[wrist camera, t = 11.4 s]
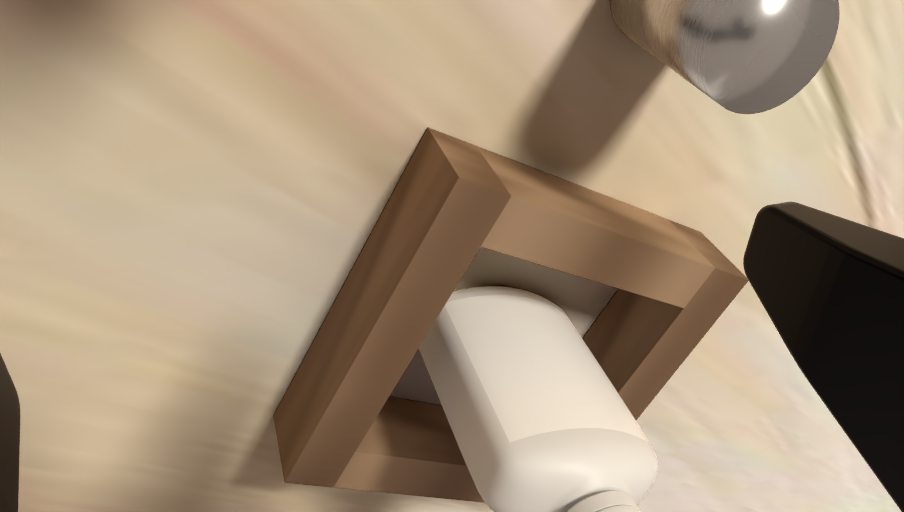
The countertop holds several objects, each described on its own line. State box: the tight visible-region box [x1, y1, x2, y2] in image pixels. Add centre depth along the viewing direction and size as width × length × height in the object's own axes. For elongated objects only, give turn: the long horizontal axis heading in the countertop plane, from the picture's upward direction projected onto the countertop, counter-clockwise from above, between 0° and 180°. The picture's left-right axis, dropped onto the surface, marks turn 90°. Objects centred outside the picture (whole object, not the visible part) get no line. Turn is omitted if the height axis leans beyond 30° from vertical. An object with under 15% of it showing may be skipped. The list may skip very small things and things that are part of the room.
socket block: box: [274, 128, 748, 502], centre depth 27 cm, size 12×12×3 cm
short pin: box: [610, 0, 839, 114], centre depth 20 cm, size 4×4×5 cm
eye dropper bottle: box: [419, 286, 658, 512], centre depth 23 cm, size 4×6×12 cm
